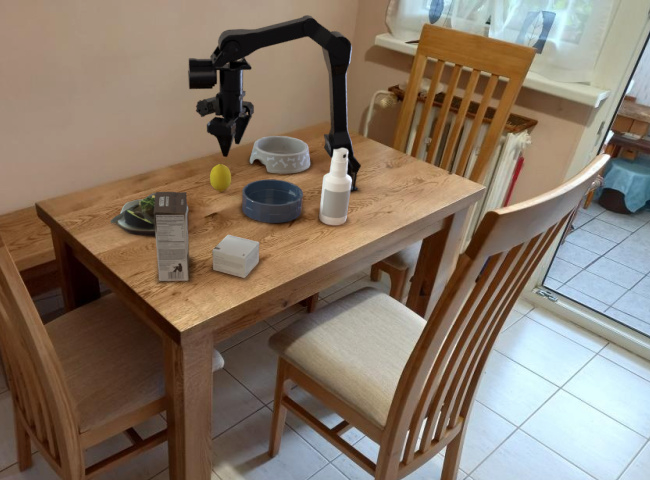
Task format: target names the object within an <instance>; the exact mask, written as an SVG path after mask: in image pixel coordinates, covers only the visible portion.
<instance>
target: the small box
mask: <svg viewBox="0 0 650 480" xmlns="http://www.w3.org/2000/svg"><path fill="white" fill-rule="evenodd" d="M211 251H212V252H211V255H212V270H213V271H217V272H220V273H224V274H227V275H232V276H235V277H238V278H243V279H246V278H247V277H248V275H249V274H250V273H251V272H252V271H253V269H255V267H256V266H257V265H258V264H259V262H260V241H257V240H252V239H248V238H245V237H241V236H240V237H239V236H236V235H232V234H227V235H226V236H225V237H224V238H223V239H222V240H221V241H220V242H219V243H218V244H216V246H215V247H214V248H213V249H211Z"/></svg>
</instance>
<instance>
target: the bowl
mask: <svg viewBox="0 0 650 480" xmlns="http://www.w3.org/2000/svg"><path fill="white" fill-rule="evenodd" d="M303 202H304V191H303V189H302V188H301V187H299V185H297V184H295V183H293V182H290V181H286V180H282V179H276V178H275V179H274V178H271V179H269V178H268V179H267V178H266V179H257V180H254V181H250V182H249V183H247V184H246V185H244V186H243V188H242V190H241V211H242V212H243V214H244V215H245V216H246V217H248V218H250V219H251V220H253V221H254V220H255V221H258V222H261V223H267V224H268V223H269V224H280V223H288V222H291V221H294V220H296V219H297V218H298V217H300V216H301V215H302V212H303V204H304V203H303Z"/></svg>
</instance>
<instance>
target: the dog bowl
mask: <svg viewBox="0 0 650 480" xmlns="http://www.w3.org/2000/svg"><path fill="white" fill-rule="evenodd" d="M310 157H311V156H310V149H309V145H308V144H307V142H305V141H304V140H301V139H299V138H296V137H293V136H286V135H267V136H263V137H261V138H258V139H256V141H254V143H253V147H252V150H251V154H250V157H249V163H250V164H251V165H253V163H254V162H255V160H258V161H259V162H260V163H261V164H262V165H264V166H265V168H266V171H267V172H268V173H271V174H283V175H284V174H287V175H289V174H296V173H300V172H304V171H306V170H308V169H309V168H310V167H311V159H310Z"/></svg>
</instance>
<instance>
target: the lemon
mask: <svg viewBox="0 0 650 480" xmlns="http://www.w3.org/2000/svg"><path fill="white" fill-rule="evenodd" d="M209 181H210V185H211V187H212V188H213V189H214V190H216V191H218V193H222V192H223V191H226V190H227V189H228V188H229V187H230V185H231V183H232V174H231V171H230V169H229V167H228V166H226V165H224V164H222V163H219V164H216V165H215V166H214V167H212V169H211V171H210V175H209Z"/></svg>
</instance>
